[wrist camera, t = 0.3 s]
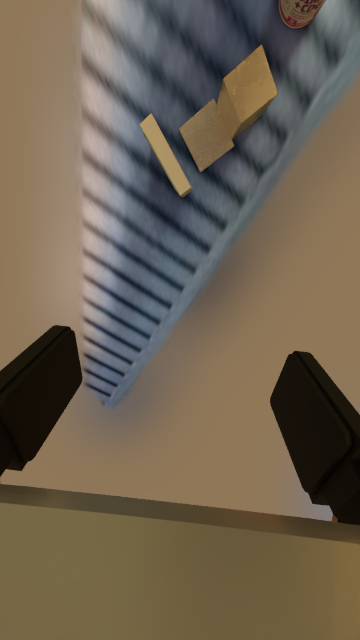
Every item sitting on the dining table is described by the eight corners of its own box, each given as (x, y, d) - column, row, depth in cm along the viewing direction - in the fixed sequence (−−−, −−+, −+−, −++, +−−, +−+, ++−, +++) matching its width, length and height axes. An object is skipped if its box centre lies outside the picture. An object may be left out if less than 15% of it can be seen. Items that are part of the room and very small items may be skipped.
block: (160, 132, 29) (151, 113, 22) (191, 190, 32) (191, 187, 25) (150, 142, 29) (138, 125, 23) (181, 198, 32) (178, 196, 26)
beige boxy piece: (242, 74, 26) (258, 33, 19) (261, 125, 28) (280, 102, 21) (179, 130, 28) (175, 110, 22) (200, 172, 30) (202, 164, 24)
